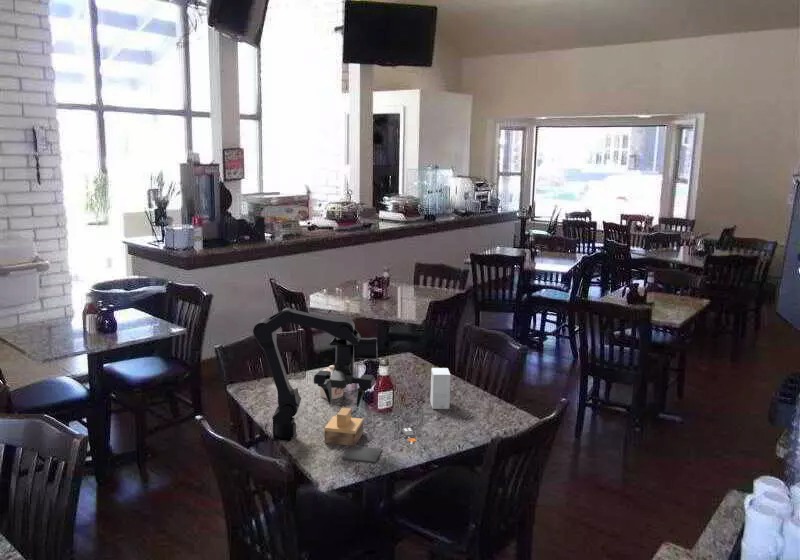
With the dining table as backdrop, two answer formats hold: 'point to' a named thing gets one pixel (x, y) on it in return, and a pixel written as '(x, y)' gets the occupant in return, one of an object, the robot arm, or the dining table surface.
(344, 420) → the lid
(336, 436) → the walnut box
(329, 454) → the dining table surface
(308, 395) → the dining table surface
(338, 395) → the teacup with lid
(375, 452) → the rubber mat
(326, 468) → the dining table surface
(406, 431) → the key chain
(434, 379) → the small box
